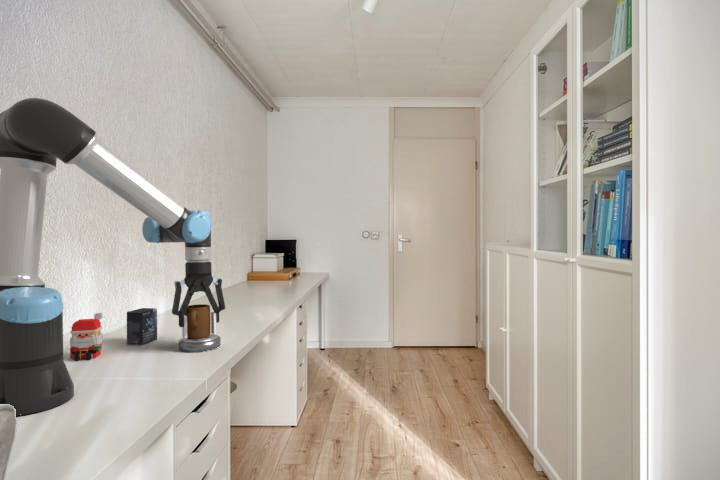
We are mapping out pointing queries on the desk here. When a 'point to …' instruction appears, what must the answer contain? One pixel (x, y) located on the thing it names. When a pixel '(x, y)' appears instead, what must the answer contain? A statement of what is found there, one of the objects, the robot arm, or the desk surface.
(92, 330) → the figurine
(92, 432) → the desk surface
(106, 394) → the desk surface
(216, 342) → the grey metal dish
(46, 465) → the desk surface
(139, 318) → the box
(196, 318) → the mug
